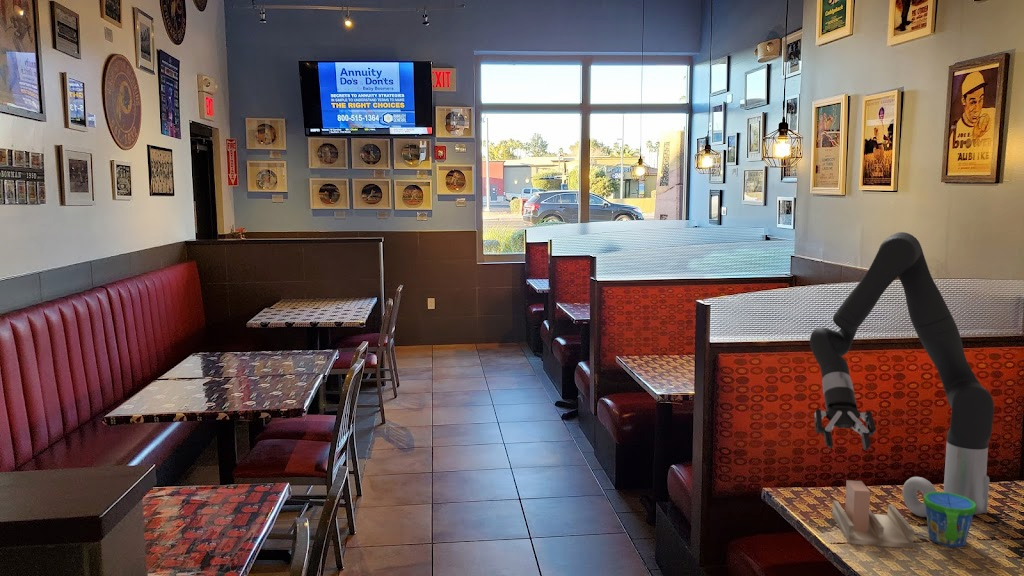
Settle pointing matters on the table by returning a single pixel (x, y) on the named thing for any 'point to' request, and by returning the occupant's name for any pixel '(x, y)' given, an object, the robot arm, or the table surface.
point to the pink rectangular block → (857, 504)
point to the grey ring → (911, 494)
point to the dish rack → (876, 528)
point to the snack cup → (948, 518)
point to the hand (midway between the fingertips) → (848, 447)
